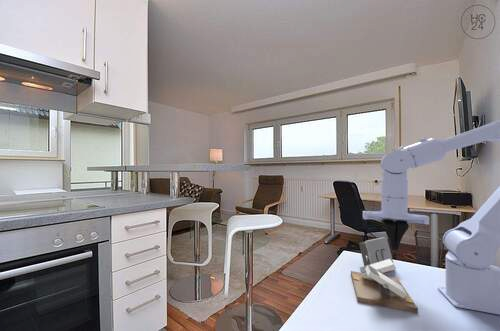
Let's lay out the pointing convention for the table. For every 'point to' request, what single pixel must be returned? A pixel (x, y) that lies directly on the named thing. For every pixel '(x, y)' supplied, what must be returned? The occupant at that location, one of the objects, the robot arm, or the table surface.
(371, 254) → the electrical switch
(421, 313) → the table surface
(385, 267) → the rear rocker
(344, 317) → the table surface
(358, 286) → the switch board
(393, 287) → the block
